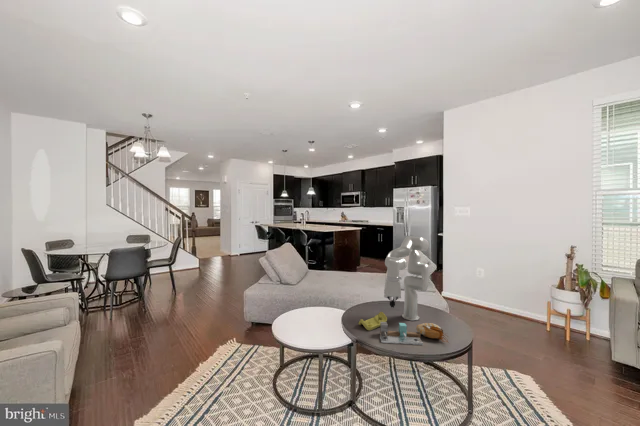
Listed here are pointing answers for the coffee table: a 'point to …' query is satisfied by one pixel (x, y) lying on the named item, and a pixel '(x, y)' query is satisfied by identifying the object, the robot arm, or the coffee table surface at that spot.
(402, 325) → the block
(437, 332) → the nautilus
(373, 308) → the coffee table surface
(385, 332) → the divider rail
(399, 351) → the coffee table surface
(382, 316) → the plastic component
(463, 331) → the coffee table surface
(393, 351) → the coffee table surface
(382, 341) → the bolt plate
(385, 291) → the robot arm
